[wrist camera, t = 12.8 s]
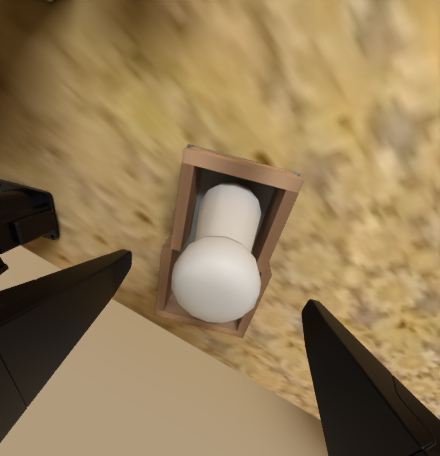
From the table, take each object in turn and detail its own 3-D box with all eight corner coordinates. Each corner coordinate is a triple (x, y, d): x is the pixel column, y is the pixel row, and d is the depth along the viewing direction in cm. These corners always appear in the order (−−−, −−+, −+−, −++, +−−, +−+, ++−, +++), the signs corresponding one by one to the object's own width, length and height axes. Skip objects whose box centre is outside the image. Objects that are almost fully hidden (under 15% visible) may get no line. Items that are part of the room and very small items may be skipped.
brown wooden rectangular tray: (168, 288, 27) (154, 314, 23) (189, 144, 18) (173, 146, 14) (242, 307, 27) (242, 338, 23) (298, 173, 18) (314, 183, 14)
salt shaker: (263, 224, 20) (289, 340, 9) (213, 234, 22) (176, 347, 10) (252, 170, 18) (267, 228, 6) (197, 185, 19) (125, 256, 8)
